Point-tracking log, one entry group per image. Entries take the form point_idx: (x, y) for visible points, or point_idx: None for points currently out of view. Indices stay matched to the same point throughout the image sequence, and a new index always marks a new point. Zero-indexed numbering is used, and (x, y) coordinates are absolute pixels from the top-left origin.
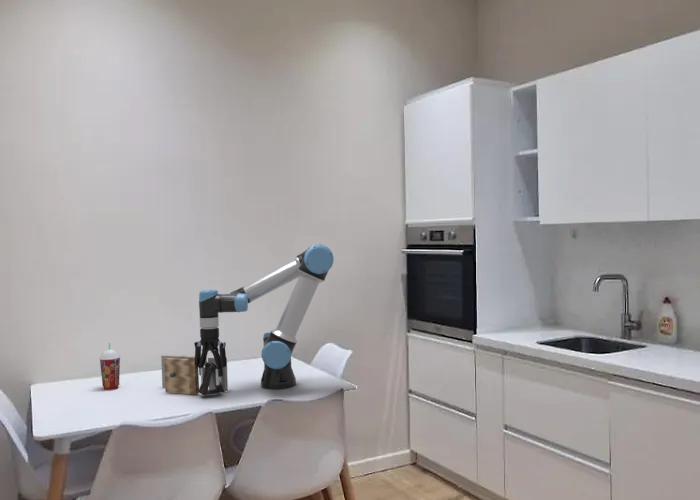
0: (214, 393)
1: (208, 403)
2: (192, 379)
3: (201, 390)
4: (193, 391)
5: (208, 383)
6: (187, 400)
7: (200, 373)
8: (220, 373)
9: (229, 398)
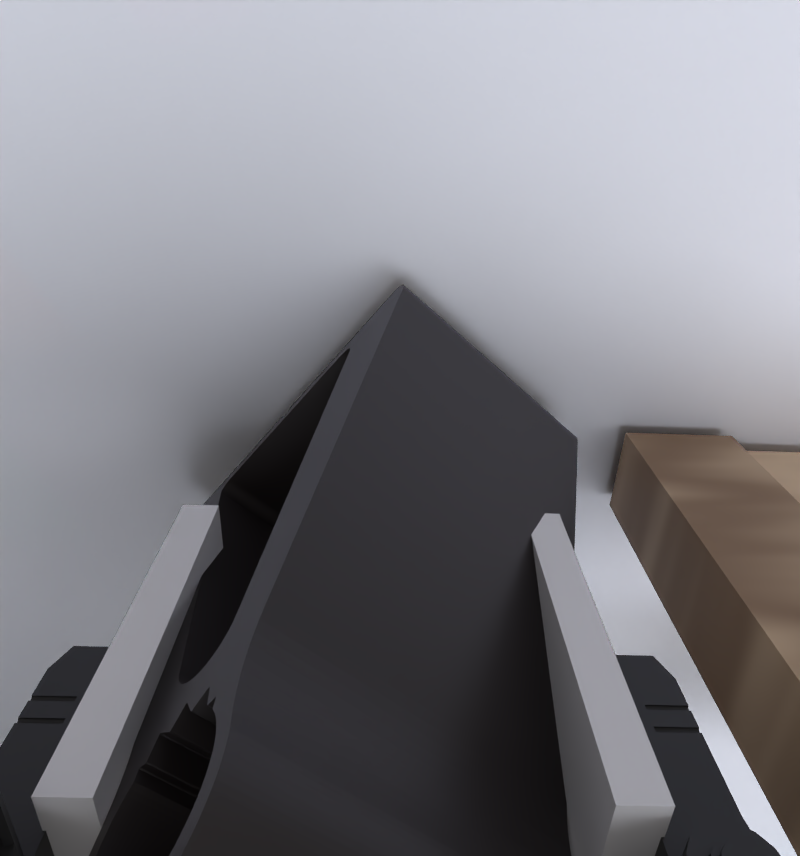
0: (278, 423)
1: (144, 40)
2: (792, 576)
3: (488, 391)
4: (679, 454)
5: (314, 441)
6: (627, 146)
7: (646, 695)
8: (30, 709)
9: (44, 400)
